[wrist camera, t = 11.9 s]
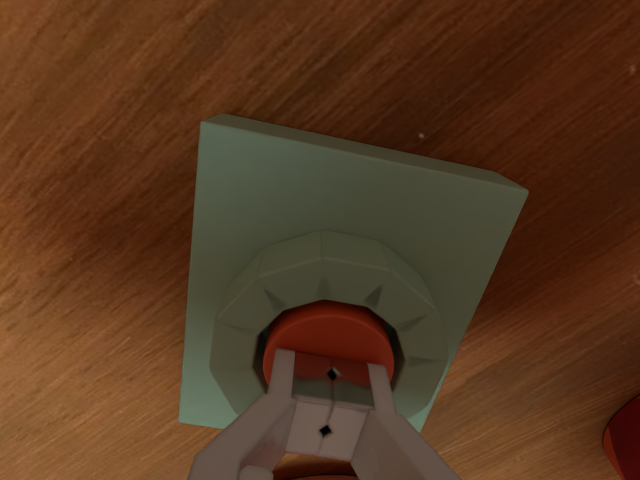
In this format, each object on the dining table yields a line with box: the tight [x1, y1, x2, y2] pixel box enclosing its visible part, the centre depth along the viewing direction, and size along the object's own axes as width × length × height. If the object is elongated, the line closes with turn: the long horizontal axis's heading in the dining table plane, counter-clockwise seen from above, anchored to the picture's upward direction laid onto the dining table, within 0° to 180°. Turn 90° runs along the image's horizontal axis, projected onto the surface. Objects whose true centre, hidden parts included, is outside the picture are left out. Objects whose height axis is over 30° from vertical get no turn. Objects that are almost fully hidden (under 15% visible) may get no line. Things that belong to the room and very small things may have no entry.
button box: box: [178, 113, 529, 434], centre depth 12 cm, size 11×9×4 cm
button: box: [263, 299, 394, 386], centre depth 11 cm, size 4×4×2 cm
